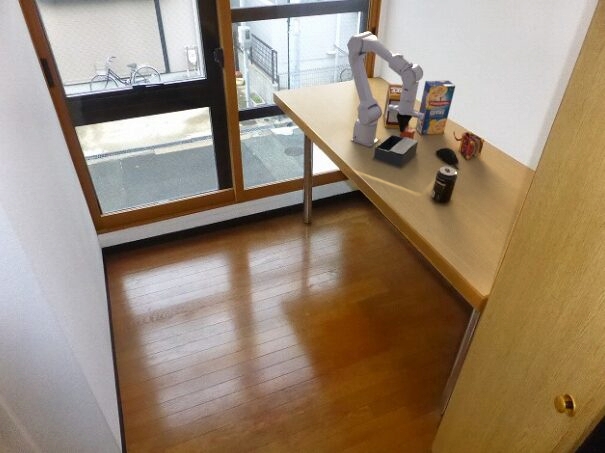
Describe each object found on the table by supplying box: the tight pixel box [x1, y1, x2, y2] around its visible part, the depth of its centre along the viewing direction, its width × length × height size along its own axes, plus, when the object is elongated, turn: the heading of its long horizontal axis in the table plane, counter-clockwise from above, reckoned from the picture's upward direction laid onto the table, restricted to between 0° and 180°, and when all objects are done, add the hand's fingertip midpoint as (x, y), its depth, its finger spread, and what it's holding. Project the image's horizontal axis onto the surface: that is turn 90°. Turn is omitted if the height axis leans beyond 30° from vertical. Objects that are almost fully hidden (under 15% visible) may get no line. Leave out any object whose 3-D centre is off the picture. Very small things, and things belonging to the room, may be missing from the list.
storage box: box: [373, 134, 419, 168], centre depth 176 cm, size 15×12×6 cm
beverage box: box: [415, 80, 456, 135], centre depth 191 cm, size 7×11×22 cm, turn 98°
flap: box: [389, 137, 419, 155], centre depth 172 cm, size 15×6×1 cm, turn 145°
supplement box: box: [383, 83, 410, 129], centre depth 200 cm, size 10×15×16 cm
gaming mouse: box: [435, 147, 459, 170], centre depth 175 cm, size 6×15×4 cm, turn 15°
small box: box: [399, 126, 416, 140], centre depth 186 cm, size 5×4×6 cm
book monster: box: [452, 130, 485, 160], centre depth 178 cm, size 11×9×12 cm
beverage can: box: [430, 166, 458, 204], centre depth 149 cm, size 7×7×12 cm
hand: (401, 131), depth 173 cm, fingers closed
